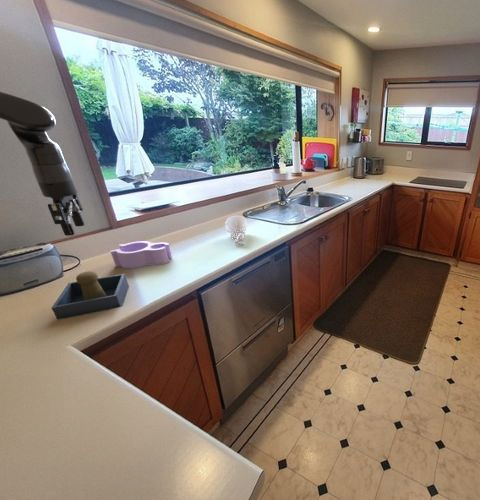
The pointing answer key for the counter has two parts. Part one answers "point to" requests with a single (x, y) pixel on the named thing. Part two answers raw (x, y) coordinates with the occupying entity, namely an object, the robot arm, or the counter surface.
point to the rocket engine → (237, 228)
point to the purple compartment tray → (141, 254)
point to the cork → (90, 285)
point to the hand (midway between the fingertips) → (75, 230)
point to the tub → (75, 305)
